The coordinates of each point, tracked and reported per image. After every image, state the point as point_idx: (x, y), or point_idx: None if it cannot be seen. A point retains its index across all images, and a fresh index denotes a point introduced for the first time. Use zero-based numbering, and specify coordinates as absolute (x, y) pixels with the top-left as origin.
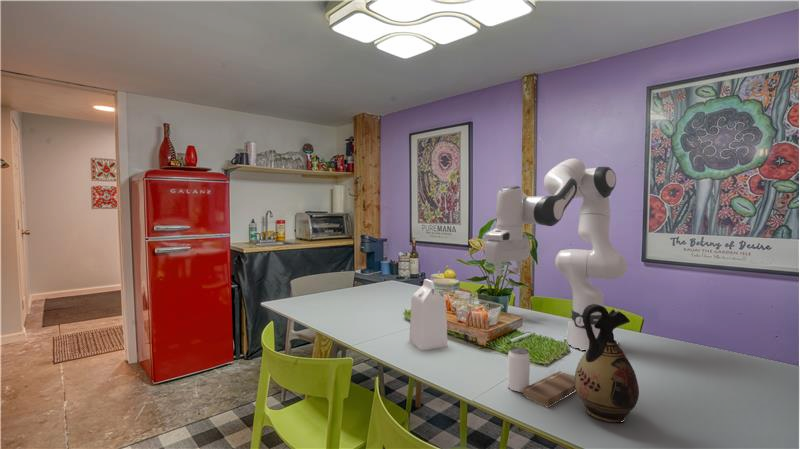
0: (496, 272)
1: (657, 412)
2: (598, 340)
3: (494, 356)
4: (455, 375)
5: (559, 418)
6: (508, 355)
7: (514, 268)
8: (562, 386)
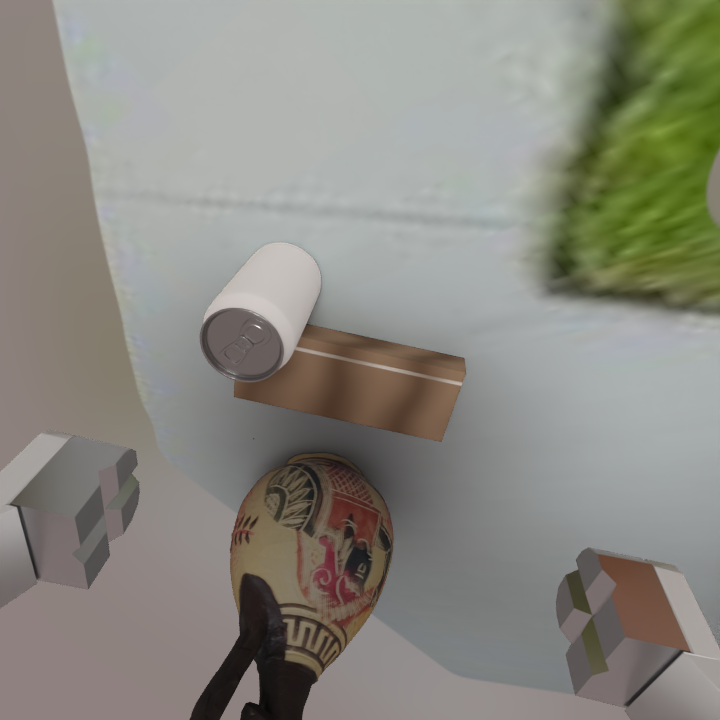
0: (15, 471)
1: (418, 553)
2: (261, 659)
3: (525, 33)
4: (172, 5)
5: (219, 414)
6: (215, 300)
7: (602, 639)
8: (347, 406)
